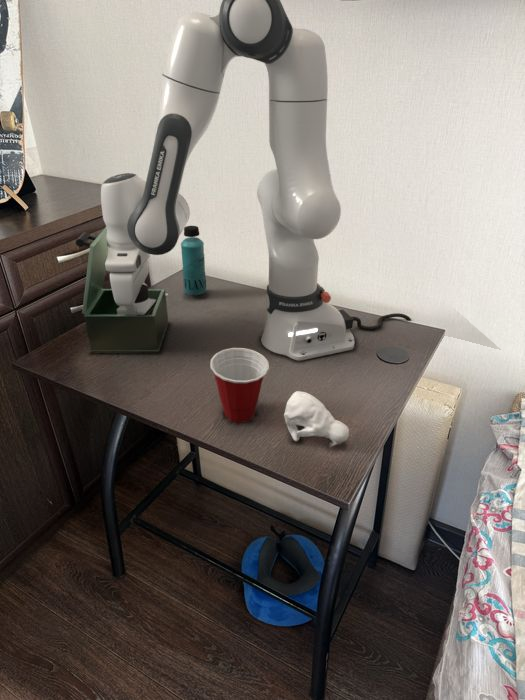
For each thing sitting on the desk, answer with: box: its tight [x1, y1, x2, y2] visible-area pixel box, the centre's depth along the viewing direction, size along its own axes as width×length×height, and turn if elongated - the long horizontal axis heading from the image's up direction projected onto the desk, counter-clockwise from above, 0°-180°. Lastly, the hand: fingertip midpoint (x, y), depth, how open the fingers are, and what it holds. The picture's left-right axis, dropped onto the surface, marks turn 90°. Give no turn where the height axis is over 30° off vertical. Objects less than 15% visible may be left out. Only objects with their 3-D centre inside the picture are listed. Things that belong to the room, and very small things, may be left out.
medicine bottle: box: [117, 282, 157, 315], centre depth 118 cm, size 7×7×12 cm
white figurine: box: [283, 390, 350, 448], centre depth 90 cm, size 6×8×12 cm
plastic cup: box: [210, 347, 270, 423], centre depth 94 cm, size 11×11×12 cm
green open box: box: [84, 288, 169, 354], centre depth 120 cm, size 16×15×10 cm
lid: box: [75, 226, 108, 315], centre depth 113 cm, size 16×15×5 cm
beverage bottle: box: [180, 225, 207, 296], centre depth 138 cm, size 6×7×20 cm
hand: (136, 306), depth 118 cm, fingers closed on medicine bottle, 7 cm apart
